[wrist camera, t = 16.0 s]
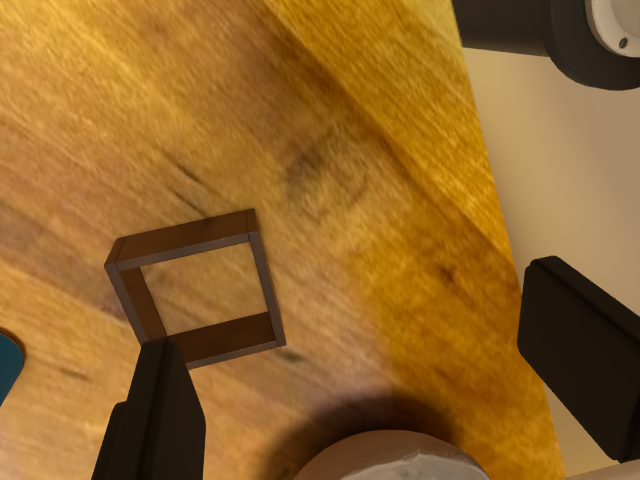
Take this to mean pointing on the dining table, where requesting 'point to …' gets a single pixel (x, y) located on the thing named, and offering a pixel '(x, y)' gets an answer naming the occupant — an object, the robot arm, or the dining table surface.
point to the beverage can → (9, 365)
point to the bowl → (392, 459)
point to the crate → (183, 242)
